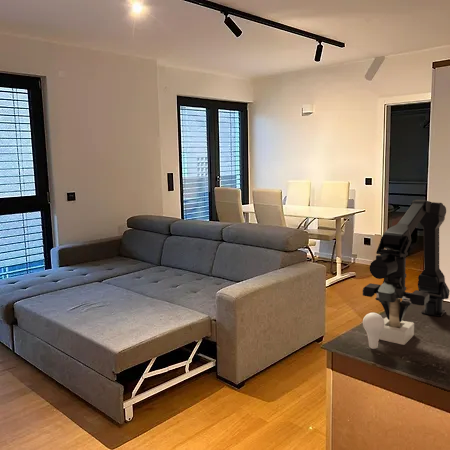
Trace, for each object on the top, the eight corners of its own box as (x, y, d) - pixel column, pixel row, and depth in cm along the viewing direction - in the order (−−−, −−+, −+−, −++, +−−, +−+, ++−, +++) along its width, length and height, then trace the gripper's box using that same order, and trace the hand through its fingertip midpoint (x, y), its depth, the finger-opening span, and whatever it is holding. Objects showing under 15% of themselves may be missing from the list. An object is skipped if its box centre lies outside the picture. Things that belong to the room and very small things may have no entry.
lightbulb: (385, 353, 130) (386, 317, 129) (363, 352, 132) (363, 316, 130) (382, 344, 136) (383, 309, 134) (361, 344, 137) (361, 309, 136)
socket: (385, 329, 148) (385, 317, 147) (413, 335, 142) (414, 322, 142) (374, 338, 141) (374, 326, 141) (404, 344, 135) (404, 332, 135)
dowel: (391, 326, 144) (391, 296, 142) (401, 329, 142) (401, 298, 140) (387, 330, 141) (387, 299, 140) (397, 332, 139) (398, 301, 138)
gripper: (355, 273, 138) (355, 322, 141) (419, 282, 126) (417, 335, 129) (369, 265, 147) (369, 311, 149) (430, 273, 135) (429, 323, 137)
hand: (394, 320), depth 141 cm, fingers closed on dowel, 3 cm apart
